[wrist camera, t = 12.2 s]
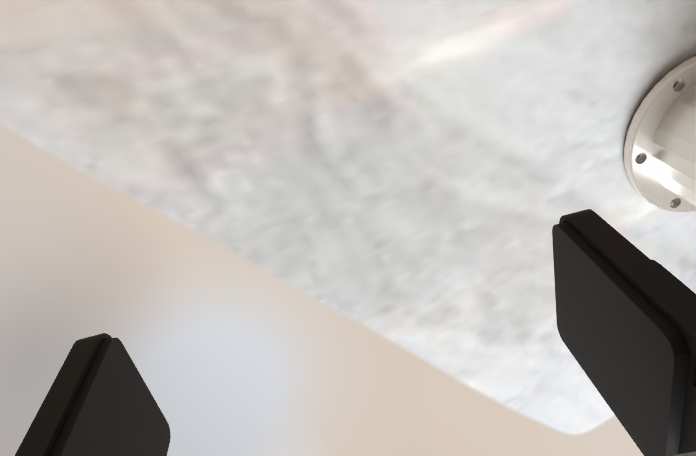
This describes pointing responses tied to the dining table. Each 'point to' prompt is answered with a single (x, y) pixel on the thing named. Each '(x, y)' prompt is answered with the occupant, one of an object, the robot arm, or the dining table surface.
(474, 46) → the dining table surface
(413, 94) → the dining table surface
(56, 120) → the dining table surface
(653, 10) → the dining table surface
